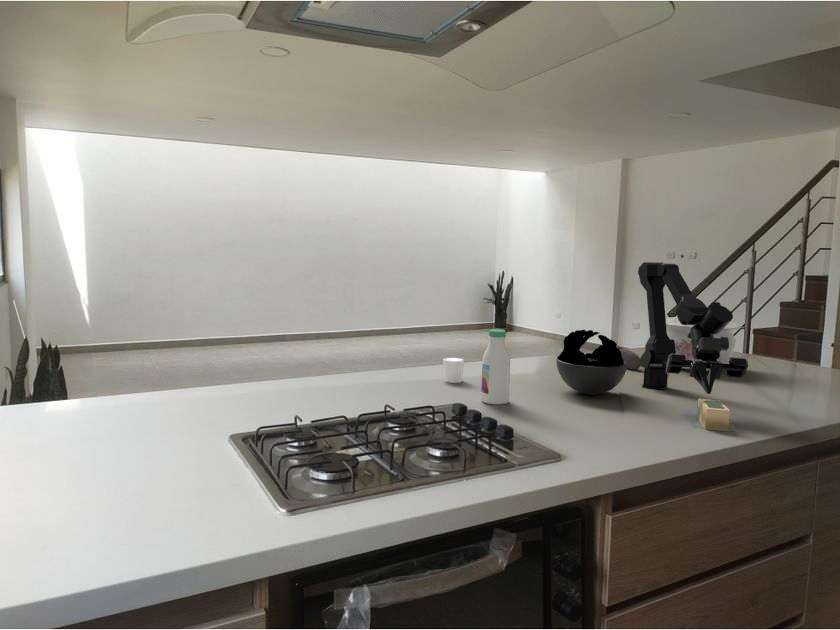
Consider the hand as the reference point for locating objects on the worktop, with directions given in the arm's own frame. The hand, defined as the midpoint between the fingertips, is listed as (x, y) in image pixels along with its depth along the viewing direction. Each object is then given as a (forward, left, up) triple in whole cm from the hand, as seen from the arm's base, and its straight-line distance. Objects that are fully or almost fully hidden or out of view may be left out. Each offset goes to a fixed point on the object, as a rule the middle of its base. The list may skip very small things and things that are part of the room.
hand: (709, 393), depth 148 cm
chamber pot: (-9, +71, -7) cm, 72 cm away
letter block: (0, -1, -4) cm, 4 cm away
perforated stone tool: (-31, +56, -7) cm, 64 cm away
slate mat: (0, -2, -7) cm, 7 cm away
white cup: (-73, +1, -7) cm, 73 cm away
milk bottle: (-52, -15, -7) cm, 55 cm away
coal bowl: (-32, +9, -7) cm, 34 cm away
